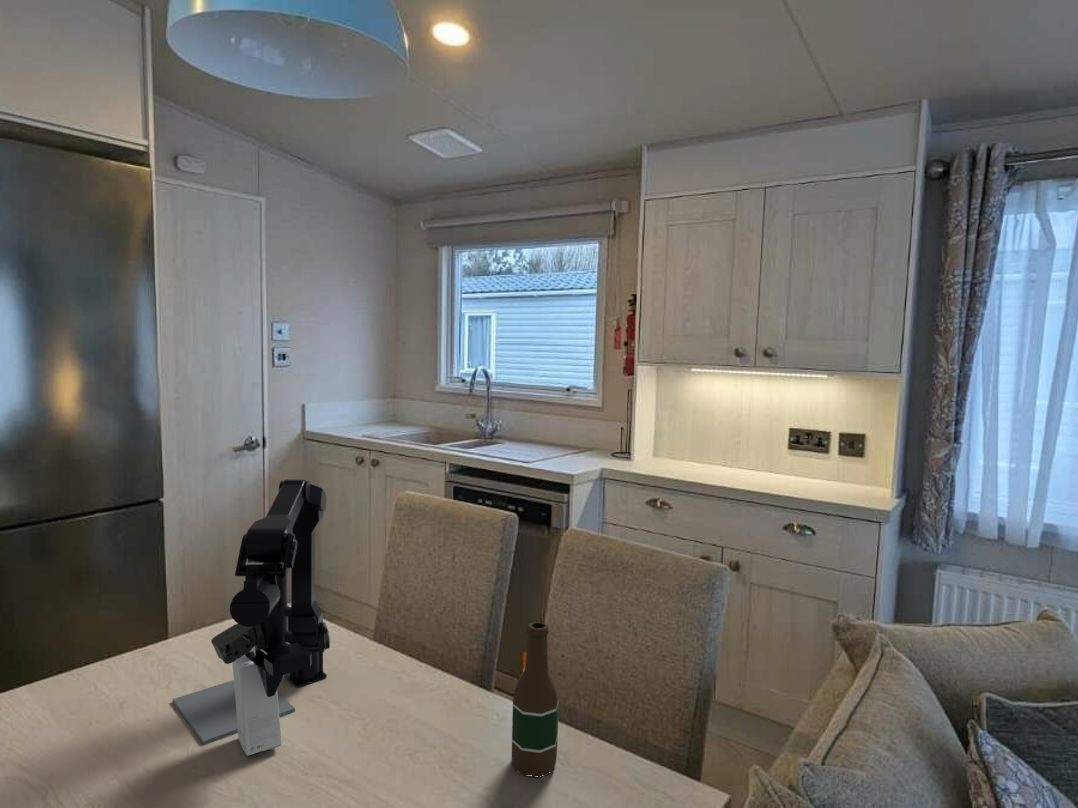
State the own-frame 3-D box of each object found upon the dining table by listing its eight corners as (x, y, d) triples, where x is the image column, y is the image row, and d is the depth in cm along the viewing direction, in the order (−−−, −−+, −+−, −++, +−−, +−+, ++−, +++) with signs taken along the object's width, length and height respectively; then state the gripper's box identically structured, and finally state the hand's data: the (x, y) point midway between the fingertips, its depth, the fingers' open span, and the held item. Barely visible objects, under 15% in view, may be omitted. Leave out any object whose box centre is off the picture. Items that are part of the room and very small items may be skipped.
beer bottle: (541, 785, 106) (546, 639, 104) (501, 768, 111) (504, 627, 108) (566, 760, 113) (570, 622, 111) (527, 744, 117) (530, 611, 115)
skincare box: (282, 746, 113) (278, 658, 113) (243, 758, 110) (239, 667, 110) (271, 727, 120) (267, 644, 120) (235, 738, 117) (231, 653, 117)
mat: (257, 675, 139) (257, 672, 139) (294, 711, 126) (294, 708, 126) (172, 702, 128) (172, 699, 128) (203, 744, 115) (203, 741, 115)
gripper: (197, 600, 111) (199, 692, 112) (239, 633, 97) (241, 737, 98) (265, 585, 119) (266, 671, 119) (312, 613, 105) (314, 710, 106)
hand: (270, 696), depth 111 cm, fingers closed
